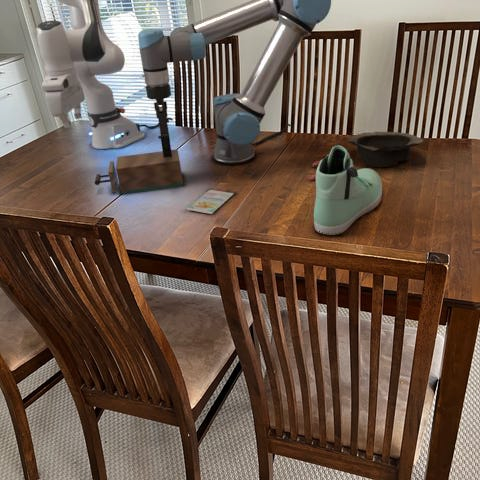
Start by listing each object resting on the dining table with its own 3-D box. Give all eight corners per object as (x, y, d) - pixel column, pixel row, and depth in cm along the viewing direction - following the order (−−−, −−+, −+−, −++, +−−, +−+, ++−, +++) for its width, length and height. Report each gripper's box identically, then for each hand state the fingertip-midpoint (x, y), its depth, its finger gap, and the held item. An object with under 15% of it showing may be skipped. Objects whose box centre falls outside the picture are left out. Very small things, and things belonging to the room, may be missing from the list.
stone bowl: (380, 178, 154) (381, 150, 149) (333, 160, 174) (332, 135, 170) (437, 159, 162) (439, 132, 158) (385, 144, 183) (386, 120, 178)
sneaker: (389, 187, 148) (396, 123, 138) (356, 242, 123) (361, 168, 112) (346, 181, 154) (350, 119, 144) (306, 232, 129) (307, 161, 118)
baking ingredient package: (185, 208, 144) (210, 188, 156) (186, 209, 145) (210, 190, 156) (211, 213, 141) (234, 192, 152) (211, 214, 141) (234, 193, 152)
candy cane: (296, 178, 159) (296, 174, 158) (317, 162, 169) (317, 158, 168) (312, 182, 156) (312, 178, 155) (333, 165, 166) (333, 161, 165)
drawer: (96, 194, 157) (91, 174, 154) (98, 182, 165) (93, 163, 162) (170, 184, 160) (167, 164, 156) (169, 173, 168) (166, 154, 164)
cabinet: (121, 194, 158) (115, 168, 153) (122, 181, 167) (117, 156, 163) (183, 185, 160) (179, 160, 156) (181, 173, 170) (177, 149, 165)
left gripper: (65, 72, 158) (75, 114, 165) (38, 86, 140) (51, 132, 147) (83, 71, 157) (93, 113, 164) (59, 85, 140) (71, 131, 147)
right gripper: (145, 76, 158) (154, 138, 169) (145, 95, 137) (156, 164, 148) (167, 74, 159) (176, 136, 170) (171, 92, 138) (180, 161, 149)
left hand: (73, 122), depth 156 cm, fingers open, 8 cm apart
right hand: (166, 149), depth 159 cm, fingers open, 13 cm apart
